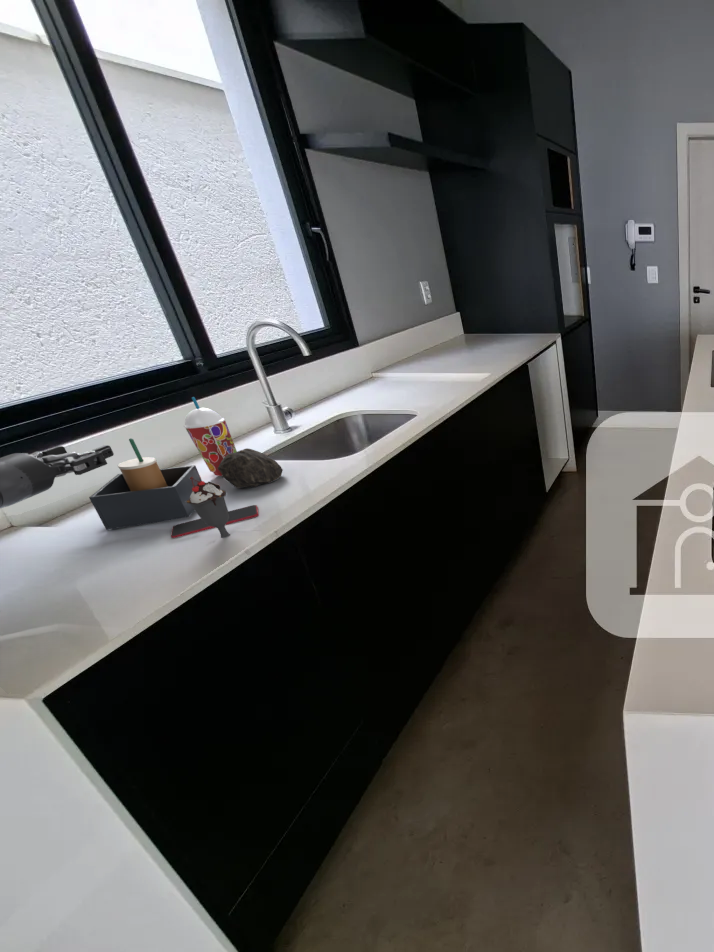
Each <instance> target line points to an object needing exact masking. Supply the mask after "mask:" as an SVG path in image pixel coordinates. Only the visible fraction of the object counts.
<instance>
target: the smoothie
mask: <svg viewBox="0 0 714 952" xmlns="http://www.w3.org/2000/svg"><path fill="white" fill-rule="evenodd" d="M191 400H192V402H193V404H194V406H195V408H193V409H192V410H190V411H189V412H188V413H187V414H186V415H185V418H184V425H183V427H184V429H185V430H186V432H187V434H188V435H189V437H190V439H191V441H192V443H193V444H194V446H195V447H196V449H197V451H198V453H199V455H200V456H201V458H202V460H203V462H204V463H205V465H206V467H207V468H208V470H209V472H211V473H213V475H214V476H217V477H223V476H222V474H221V472H220V471H219V470H218V467H219V465H220V463H221V461H222V460H223V458H224V457H225V456H226V455H228V454H230V453H235V452H238V451H237V448H236V446H235V442H234V440H233V437H232V434H231V432H230V430H229V427H228V424H227V421H226V417H223V416H222V415H221V414H220V413H219V412H217V411H216V410H214V409H211V408H207V407H200V405H199V403H198V401H197V399H196V397H195V396H192V397H191Z"/></svg>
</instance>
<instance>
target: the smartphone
mask: <svg viewBox="0 0 714 952" xmlns="http://www.w3.org/2000/svg"><path fill="white" fill-rule="evenodd" d="M228 513H229V520H228V522H227V523H226V524H225V526H226V525H231V524H235V523H238V522H241V521H245V520H250V519H254V518H256V517H259V508H258V505H257V504H253V505H247V506H244V507H240V508H236V509H232V510H228ZM215 528H216V527H212V526H209V525H207V524H205V522H204V521H203V520H202V519H201V518H200V517H199V518H197V519H193V520H189V521H185V522H181V523H178V524H175V525H173V526H172V529H171V534H170V538H172V539H177V538H180V537H185V536H188V535H192V534H196V533H200V532H202V531H207V530H211V529H215Z"/></svg>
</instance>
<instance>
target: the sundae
mask: <svg viewBox="0 0 714 952" xmlns="http://www.w3.org/2000/svg"><path fill="white" fill-rule="evenodd" d="M190 479H193V477H191V478H190ZM193 480H194V479H193ZM193 480H192V484H193V488H192V494H191V496H190V498H189V499H188V500H187V501H185V503H187V504H190V505H191V506H192V507H193V508H194V512H196V514H197V515H198V517H199V519H200V518H201V519H202V520H203V521H204V522H205V524H207V525H209V526H212V527H215V528H216V529H217V530H218V531H219V534H220V538H221V539H225V538H228V537H231V534H230V533H229V532H228V530H227V528H226V525H225V524H226V523H227V522H228V520H229V513H228V511H229V509H228V506H227V502H226V499H225V497H226V496H227V494H228V493H227V490H226V489H221V485H220V484H219V483H215V482H213V481H208V482H205V481H203V480H202V481H197V480H195V481H197V482H198V483H197V485H196V486H194V483H193Z"/></svg>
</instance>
